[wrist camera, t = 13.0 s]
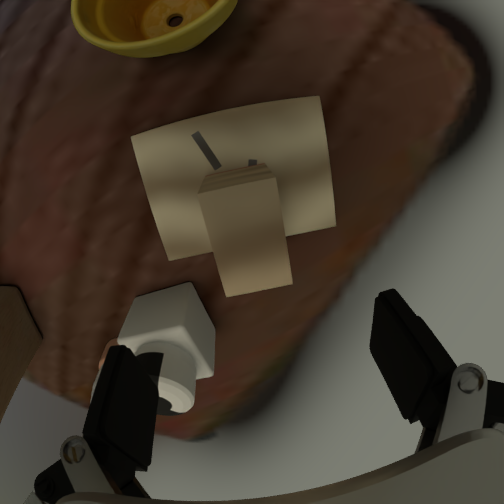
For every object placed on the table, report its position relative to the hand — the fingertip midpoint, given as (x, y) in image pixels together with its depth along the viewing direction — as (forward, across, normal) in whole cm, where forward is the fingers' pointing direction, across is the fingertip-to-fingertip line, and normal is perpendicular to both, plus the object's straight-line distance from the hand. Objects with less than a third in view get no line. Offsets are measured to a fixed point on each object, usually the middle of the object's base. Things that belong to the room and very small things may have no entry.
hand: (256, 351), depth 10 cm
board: (+17, -1, -2) cm, 17 cm away
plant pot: (+18, +2, -18) cm, 25 cm away
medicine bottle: (+17, +9, +11) cm, 22 cm away
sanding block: (+16, -1, +1) cm, 16 cm away
